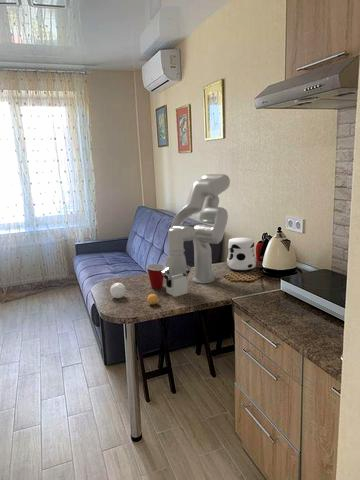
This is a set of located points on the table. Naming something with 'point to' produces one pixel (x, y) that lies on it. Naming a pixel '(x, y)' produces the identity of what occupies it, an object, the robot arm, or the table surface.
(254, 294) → the table surface
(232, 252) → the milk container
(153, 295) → the ball
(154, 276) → the plastic cup
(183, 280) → the white angular block
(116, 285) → the geometric ball
